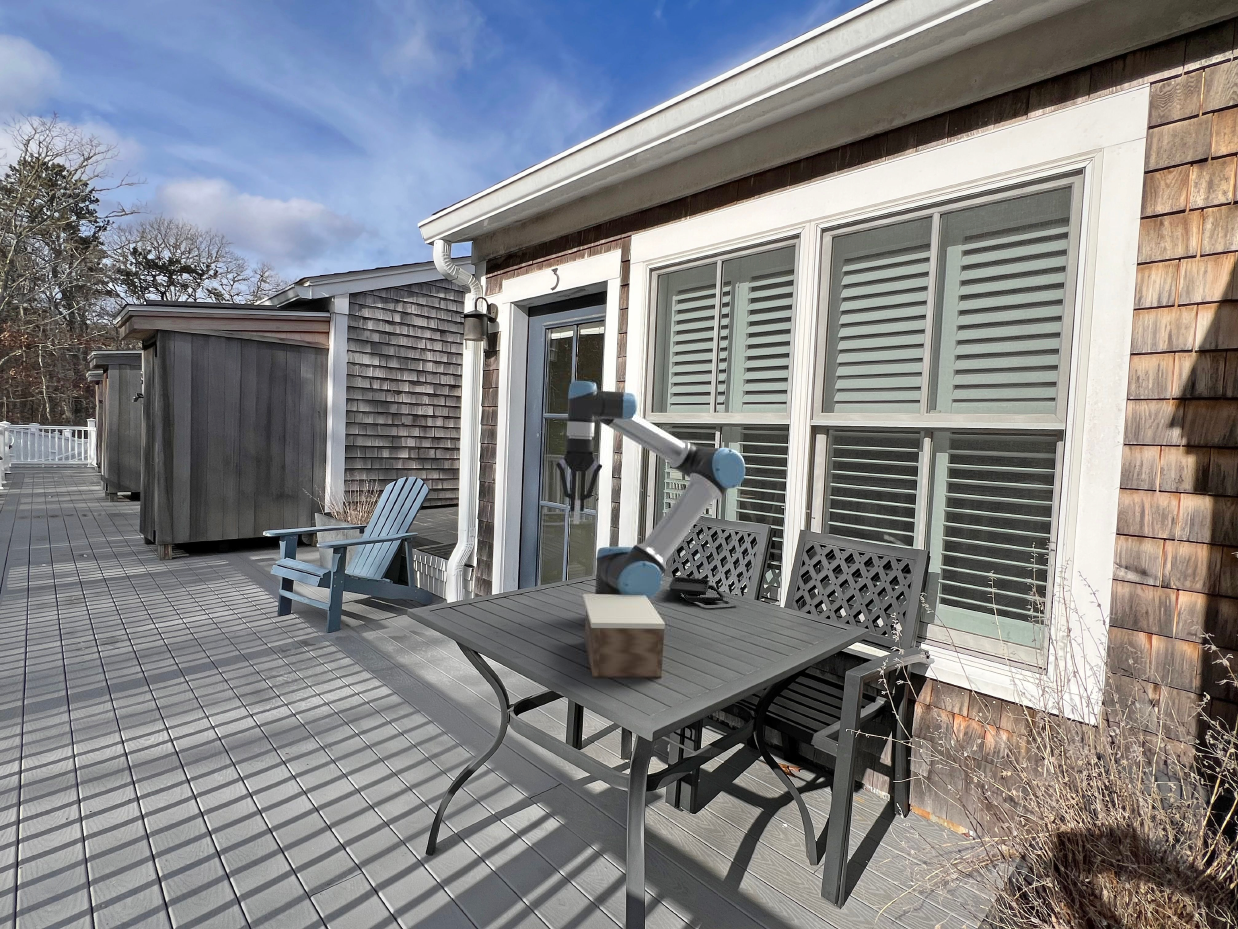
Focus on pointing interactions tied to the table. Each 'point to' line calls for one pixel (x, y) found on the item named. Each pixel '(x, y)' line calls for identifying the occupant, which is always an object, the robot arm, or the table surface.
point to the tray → (694, 589)
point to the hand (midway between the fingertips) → (576, 523)
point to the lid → (621, 611)
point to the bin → (624, 652)
